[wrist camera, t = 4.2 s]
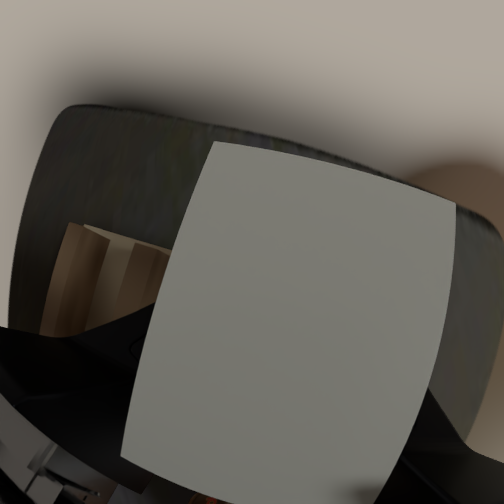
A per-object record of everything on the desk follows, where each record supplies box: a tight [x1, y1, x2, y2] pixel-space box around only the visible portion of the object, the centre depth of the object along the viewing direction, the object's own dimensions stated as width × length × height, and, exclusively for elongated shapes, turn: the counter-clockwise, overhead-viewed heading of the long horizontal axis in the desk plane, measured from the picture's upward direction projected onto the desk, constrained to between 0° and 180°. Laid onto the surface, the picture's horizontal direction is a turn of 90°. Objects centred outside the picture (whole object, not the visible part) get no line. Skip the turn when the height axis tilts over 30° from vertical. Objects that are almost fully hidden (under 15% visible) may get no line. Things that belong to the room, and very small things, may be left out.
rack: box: [39, 222, 172, 337], centre depth 15 cm, size 14×10×4 cm
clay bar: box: [121, 141, 456, 504], centre depth 9 cm, size 4×3×12 cm
